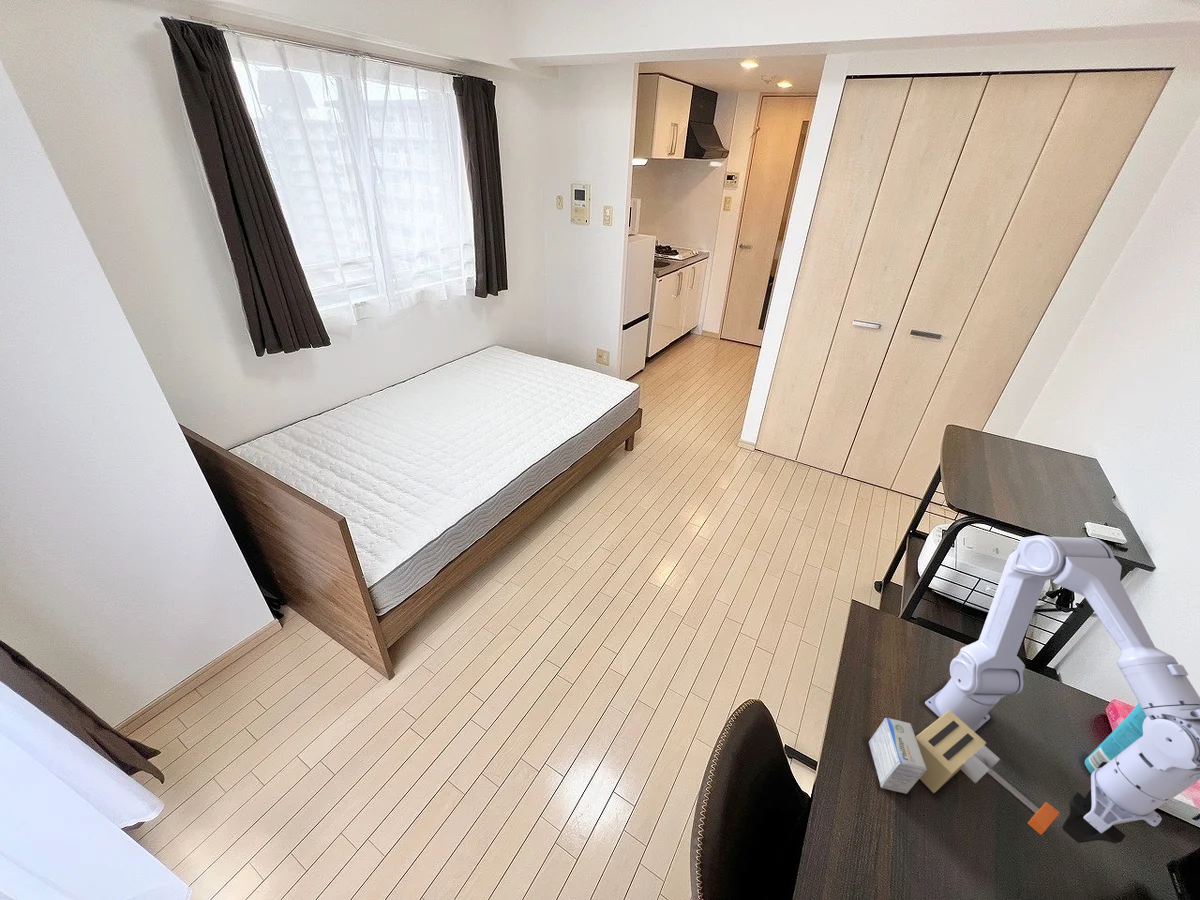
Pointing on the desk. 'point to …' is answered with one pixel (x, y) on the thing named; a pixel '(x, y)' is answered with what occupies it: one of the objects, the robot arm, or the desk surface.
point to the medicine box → (897, 756)
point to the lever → (1027, 803)
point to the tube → (1118, 739)
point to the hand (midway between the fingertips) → (1082, 820)
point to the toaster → (952, 752)
